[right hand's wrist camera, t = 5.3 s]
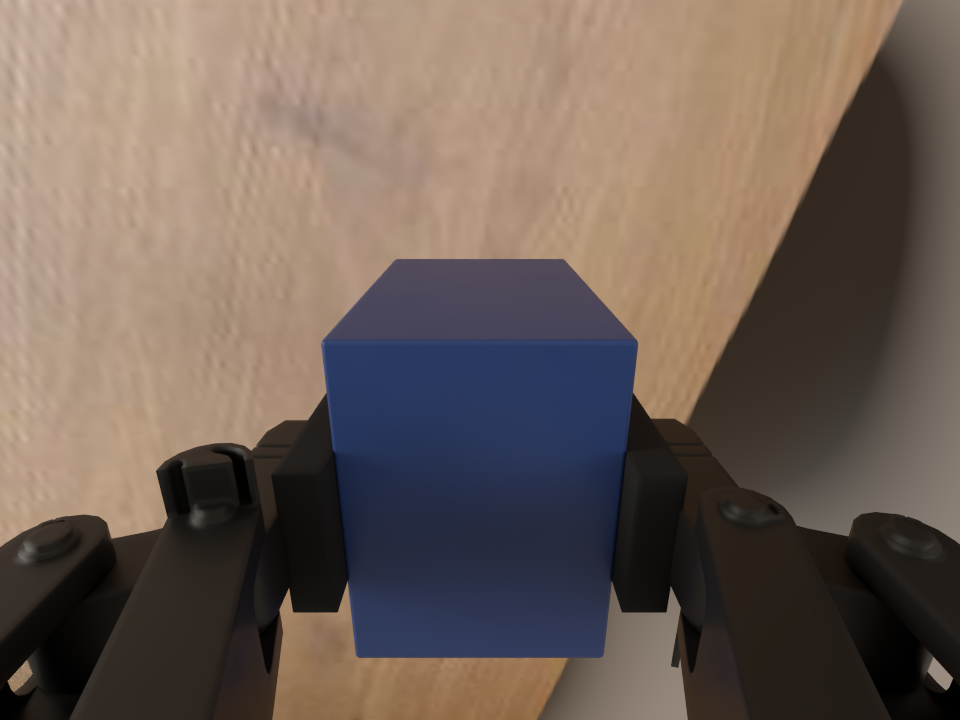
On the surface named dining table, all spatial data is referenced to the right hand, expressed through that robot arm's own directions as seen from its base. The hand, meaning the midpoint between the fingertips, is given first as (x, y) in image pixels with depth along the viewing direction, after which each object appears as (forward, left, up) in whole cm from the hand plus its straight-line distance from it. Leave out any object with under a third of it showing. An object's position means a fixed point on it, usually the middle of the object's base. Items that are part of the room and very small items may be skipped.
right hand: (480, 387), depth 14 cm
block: (0, 0, -2) cm, 2 cm away
